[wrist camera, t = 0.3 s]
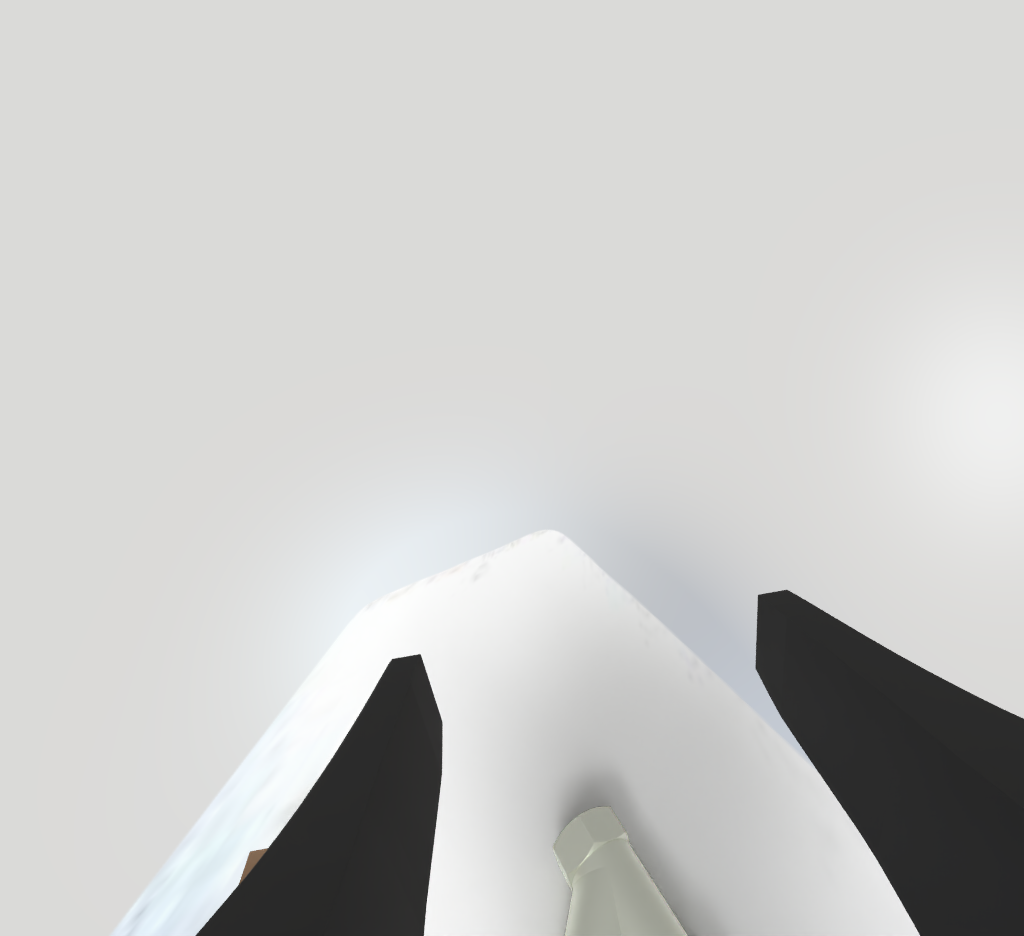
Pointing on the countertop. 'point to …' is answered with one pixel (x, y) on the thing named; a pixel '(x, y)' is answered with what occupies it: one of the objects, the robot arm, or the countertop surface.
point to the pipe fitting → (609, 881)
